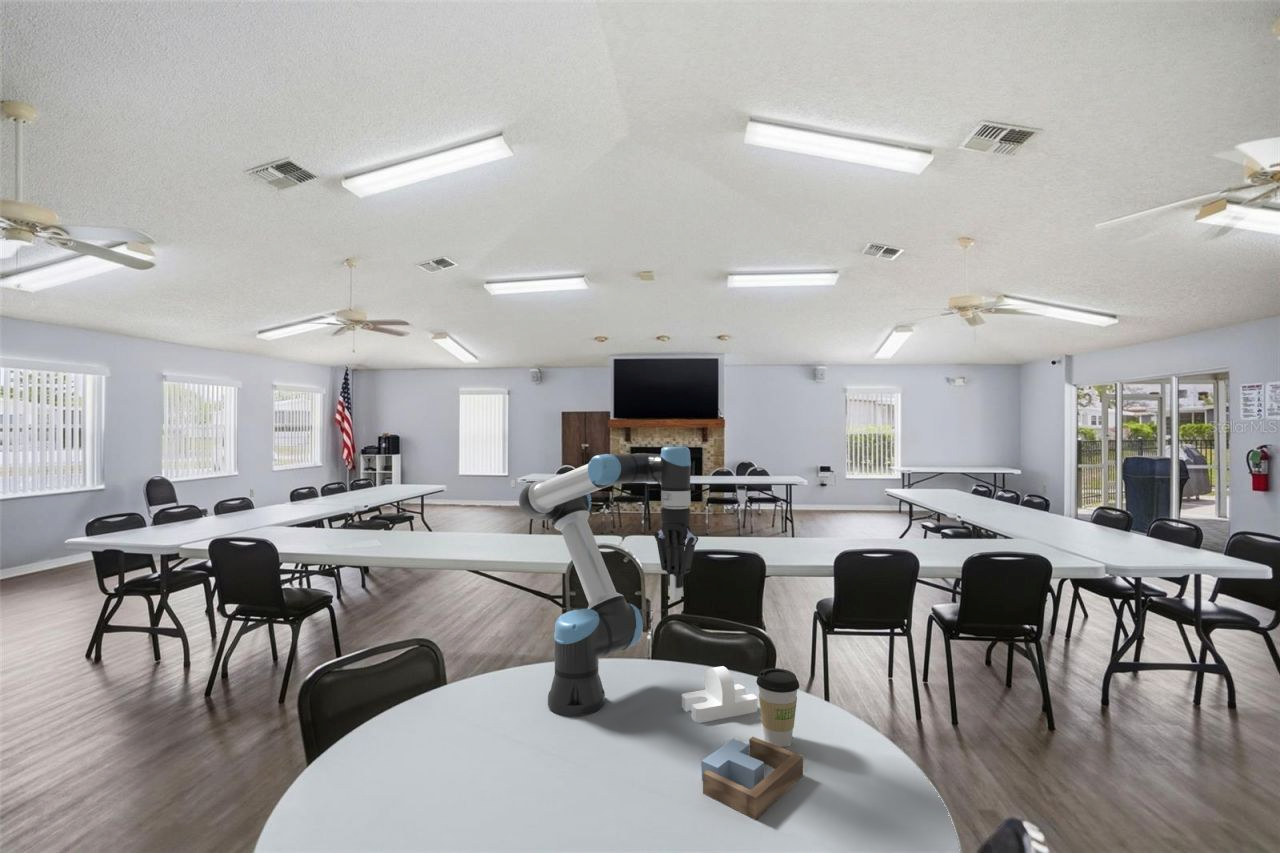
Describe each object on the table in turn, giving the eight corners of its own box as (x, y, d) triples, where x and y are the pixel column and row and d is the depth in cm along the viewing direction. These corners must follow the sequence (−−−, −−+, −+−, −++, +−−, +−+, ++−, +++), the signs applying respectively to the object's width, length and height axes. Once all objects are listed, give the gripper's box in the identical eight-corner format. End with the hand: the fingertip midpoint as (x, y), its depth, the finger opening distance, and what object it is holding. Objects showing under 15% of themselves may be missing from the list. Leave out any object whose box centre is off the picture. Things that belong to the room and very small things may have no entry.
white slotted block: (680, 707, 152) (680, 666, 152) (740, 696, 159) (739, 657, 159) (696, 724, 143) (696, 680, 143) (759, 712, 150) (759, 670, 150)
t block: (701, 780, 119) (701, 760, 119) (733, 756, 128) (733, 738, 128) (743, 800, 113) (743, 779, 113) (774, 773, 121) (773, 754, 122)
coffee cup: (801, 753, 129) (800, 685, 130) (756, 748, 131) (756, 682, 132) (798, 731, 139) (798, 668, 139) (756, 727, 141) (756, 665, 141)
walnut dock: (702, 793, 115) (702, 772, 115) (752, 754, 129) (752, 736, 129) (755, 820, 107) (755, 797, 107) (803, 775, 121) (803, 756, 121)
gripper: (646, 506, 149) (646, 598, 149) (687, 510, 141) (686, 608, 140) (665, 503, 155) (665, 592, 155) (705, 507, 146) (705, 601, 146)
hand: (675, 599), depth 147 cm, fingers closed
